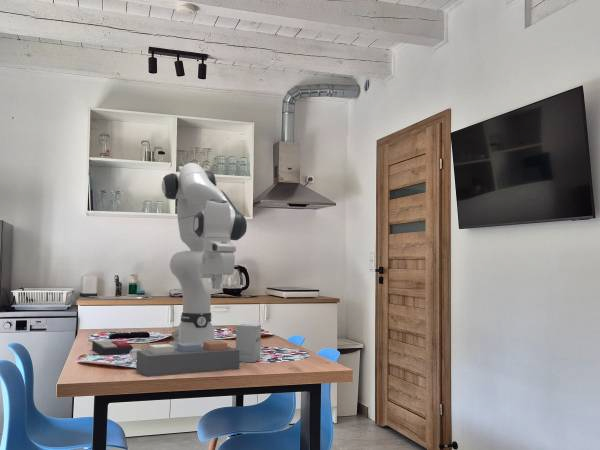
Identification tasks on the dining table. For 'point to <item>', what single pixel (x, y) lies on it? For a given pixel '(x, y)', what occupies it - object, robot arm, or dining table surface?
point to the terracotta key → (215, 345)
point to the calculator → (111, 347)
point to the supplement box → (248, 342)
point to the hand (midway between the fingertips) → (216, 288)
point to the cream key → (161, 349)
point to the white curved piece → (133, 354)
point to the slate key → (188, 347)
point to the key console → (186, 361)
